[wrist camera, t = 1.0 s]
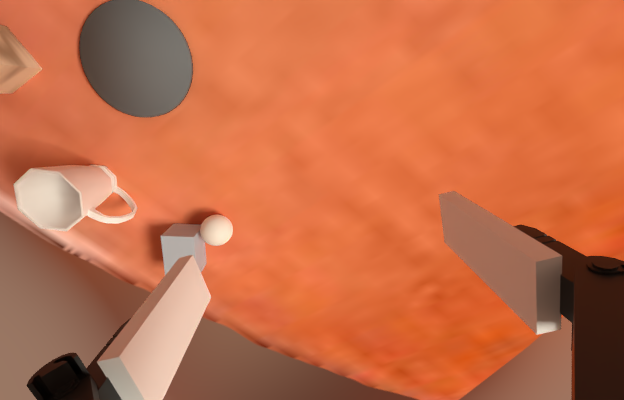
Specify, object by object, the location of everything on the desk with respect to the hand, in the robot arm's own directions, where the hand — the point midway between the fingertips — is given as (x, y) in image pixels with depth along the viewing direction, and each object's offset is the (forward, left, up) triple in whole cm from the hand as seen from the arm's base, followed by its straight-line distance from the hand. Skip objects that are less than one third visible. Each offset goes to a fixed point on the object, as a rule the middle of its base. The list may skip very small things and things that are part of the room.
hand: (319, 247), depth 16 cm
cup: (-2, -26, -24) cm, 35 cm away
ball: (+6, -14, -23) cm, 28 cm away
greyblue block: (+8, -19, -24) cm, 31 cm away
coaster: (-15, -17, -23) cm, 32 cm away
